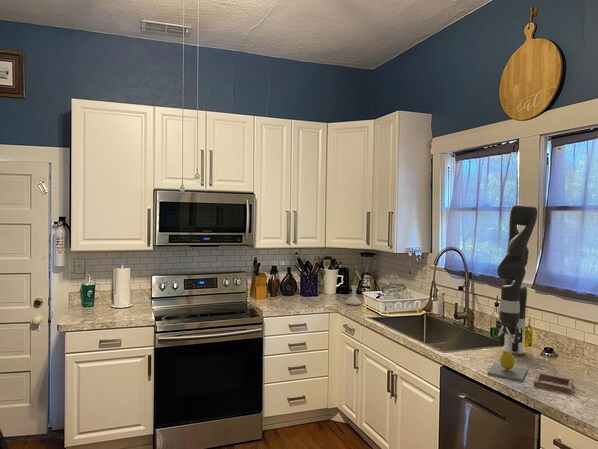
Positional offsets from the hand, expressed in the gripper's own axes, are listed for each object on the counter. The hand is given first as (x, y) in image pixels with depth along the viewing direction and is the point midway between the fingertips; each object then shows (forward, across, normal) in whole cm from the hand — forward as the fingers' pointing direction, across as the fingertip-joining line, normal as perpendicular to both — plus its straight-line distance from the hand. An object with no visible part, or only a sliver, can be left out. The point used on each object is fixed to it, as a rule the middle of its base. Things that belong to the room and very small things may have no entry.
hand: (508, 348), depth 185 cm
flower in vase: (+13, +145, +22) cm, 147 cm away
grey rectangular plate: (+10, -1, 0) cm, 10 cm away
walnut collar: (+10, -15, -9) cm, 21 cm away
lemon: (+10, 0, 0) cm, 10 cm away
